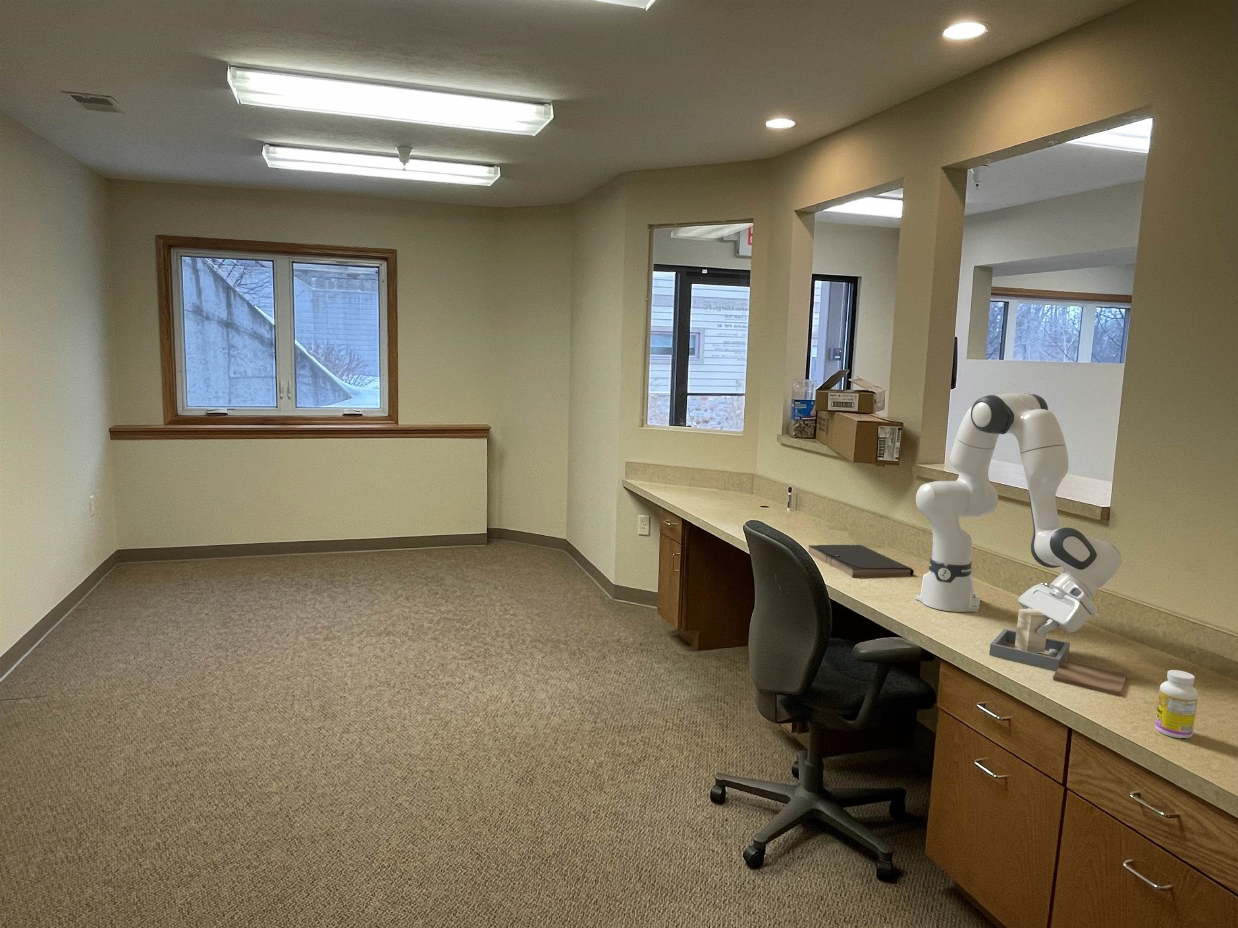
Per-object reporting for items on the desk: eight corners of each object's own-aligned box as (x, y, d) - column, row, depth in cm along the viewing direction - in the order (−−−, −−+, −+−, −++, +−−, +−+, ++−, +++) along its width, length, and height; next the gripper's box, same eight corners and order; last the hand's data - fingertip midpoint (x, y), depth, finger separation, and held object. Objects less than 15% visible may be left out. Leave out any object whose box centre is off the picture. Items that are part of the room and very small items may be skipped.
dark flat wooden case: (807, 544, 313) (864, 544, 319) (807, 554, 314) (863, 554, 320) (852, 567, 282) (914, 566, 288) (851, 579, 282) (913, 578, 288)
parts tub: (1003, 639, 226) (1004, 628, 225) (1068, 653, 216) (1070, 642, 216) (989, 654, 213) (990, 643, 213) (1057, 671, 204) (1059, 659, 203)
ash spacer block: (1014, 645, 217) (1019, 608, 215) (1032, 645, 217) (1036, 608, 216) (1026, 652, 212) (1031, 615, 210) (1044, 652, 213) (1048, 614, 211)
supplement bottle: (1156, 722, 177) (1164, 665, 175) (1193, 732, 173) (1202, 673, 171) (1152, 732, 172) (1160, 673, 170) (1190, 743, 168) (1199, 683, 166)
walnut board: (1062, 663, 209) (1063, 659, 209) (1126, 678, 201) (1127, 674, 201) (1052, 679, 198) (1053, 675, 198) (1120, 696, 190) (1120, 692, 190)
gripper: (1036, 572, 223) (999, 607, 223) (1088, 596, 203) (1048, 634, 203) (1049, 588, 225) (1012, 623, 225) (1102, 613, 205) (1062, 651, 205)
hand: (1029, 628), depth 214 cm, fingers closed on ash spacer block, 5 cm apart
